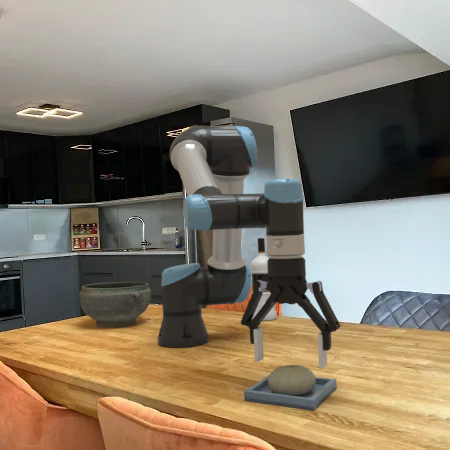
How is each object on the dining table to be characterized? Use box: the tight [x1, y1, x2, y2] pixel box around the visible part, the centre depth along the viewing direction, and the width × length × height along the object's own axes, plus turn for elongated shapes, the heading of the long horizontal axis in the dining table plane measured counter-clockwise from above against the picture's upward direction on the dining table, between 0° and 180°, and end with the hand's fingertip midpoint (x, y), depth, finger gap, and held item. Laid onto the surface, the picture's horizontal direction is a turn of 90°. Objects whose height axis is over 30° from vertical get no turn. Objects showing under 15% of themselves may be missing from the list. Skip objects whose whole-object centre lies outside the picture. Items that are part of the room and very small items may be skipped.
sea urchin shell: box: [268, 364, 316, 396], centre depth 100 cm, size 9×8×8 cm
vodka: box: [250, 237, 278, 322], centre depth 187 cm, size 9×9×30 cm
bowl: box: [79, 281, 152, 329], centre depth 189 cm, size 32×26×15 cm
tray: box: [243, 374, 338, 411], centre depth 100 cm, size 14×14×2 cm
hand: (290, 363), depth 101 cm, fingers open, 13 cm apart
